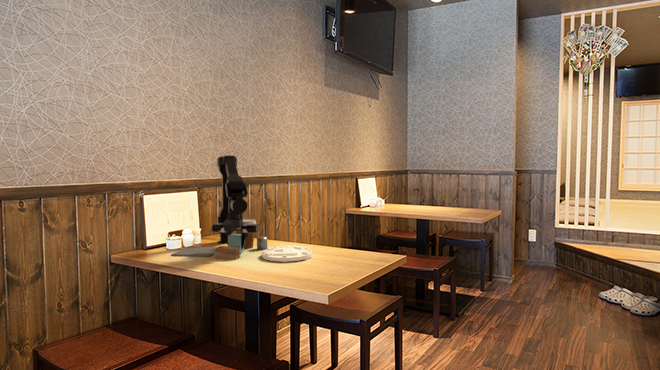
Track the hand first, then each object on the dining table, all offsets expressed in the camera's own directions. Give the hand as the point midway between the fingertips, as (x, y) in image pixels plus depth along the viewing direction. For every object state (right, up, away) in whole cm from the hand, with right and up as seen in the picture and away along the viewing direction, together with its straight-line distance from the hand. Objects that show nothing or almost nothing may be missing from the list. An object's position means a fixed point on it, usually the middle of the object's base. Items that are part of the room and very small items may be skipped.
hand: (236, 248), depth 175 cm
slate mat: (-16, -2, +2) cm, 16 cm away
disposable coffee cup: (+2, -2, +12) cm, 12 cm away
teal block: (0, -1, 0) cm, 1 cm away
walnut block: (-1, -3, -9) cm, 9 cm away
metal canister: (+9, -2, +9) cm, 13 cm away
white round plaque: (+21, -3, -6) cm, 22 cm away
